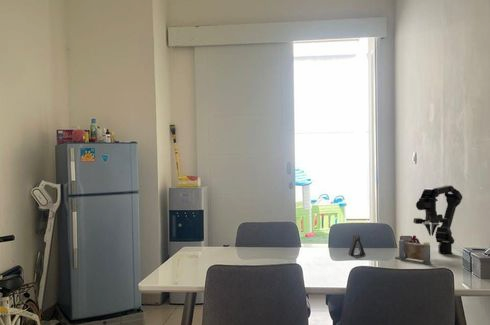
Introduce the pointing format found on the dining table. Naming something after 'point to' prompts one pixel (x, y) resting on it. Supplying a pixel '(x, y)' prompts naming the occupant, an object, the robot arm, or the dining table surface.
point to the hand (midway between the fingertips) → (431, 235)
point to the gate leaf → (415, 251)
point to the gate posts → (402, 252)
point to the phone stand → (355, 245)
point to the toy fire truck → (409, 239)
